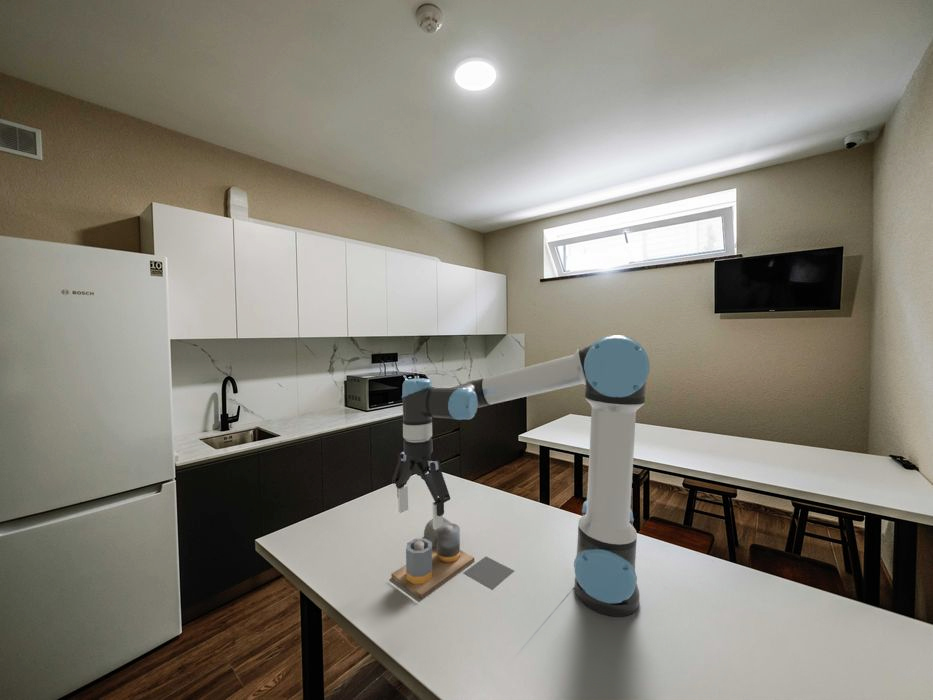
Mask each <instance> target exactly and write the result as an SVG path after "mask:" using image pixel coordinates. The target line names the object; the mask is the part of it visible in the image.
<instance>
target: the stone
mask: <svg viewBox="0 0 933 700" xmlns="http://www.w3.org/2000/svg"><path fill="white" fill-rule="evenodd" d="M444 523H452V522H451V521H449V520H448V519H447V518H445V517H443V524H444ZM423 536H424V538H425V539H427V540H429V541H431V542H432V549H433V548H435V547H437V529H436V530H435V529H433V518H432V519H430V520H429V521H428V522H427V523H426V524H425V527H424V531H423Z"/></svg>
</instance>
